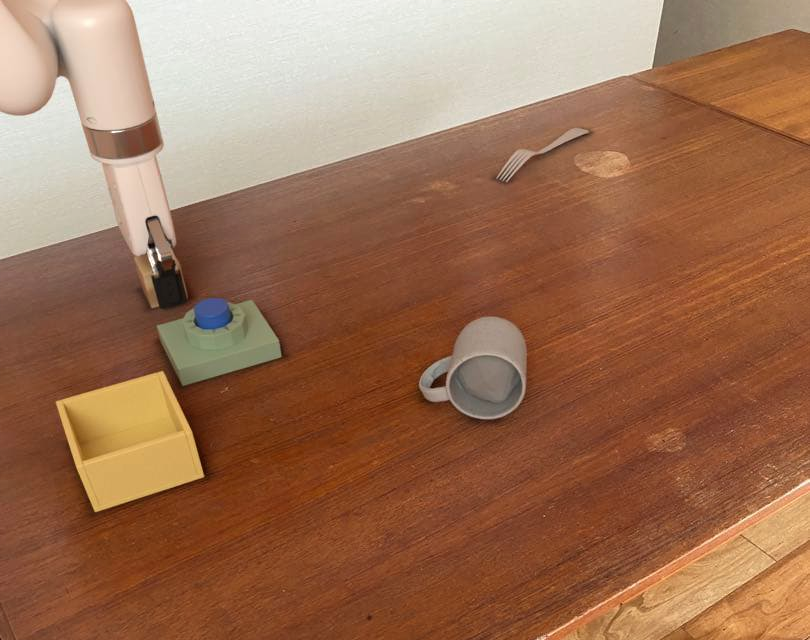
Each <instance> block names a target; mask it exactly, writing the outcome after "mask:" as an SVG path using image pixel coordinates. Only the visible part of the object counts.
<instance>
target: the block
mask: <svg viewBox="0 0 810 640" xmlns="http://www.w3.org/2000/svg"><path fill="white" fill-rule="evenodd" d="M174 256H175V259H176V262H177V265H178V268H179V270H180V272H181V276H182V280H183V284H184V289H185V293H186V297H187V300H188V299H189V295H188V291H187V286H186V283H185V278H184V274H183V270H182V265H181V264H180V261H179V260H178V257H176V255H175V254H174ZM153 257H154V260H155V263H156V264H157V261H159V258H158V254H155V255H153ZM133 260H134V265H135V267H136V272H137V275H138V278H139V282H140V285H141V288H142V292H143V294H144V296H145V297H146V300H147V301H148V304H149V306H150V308H151V309H154V308H157V307H158V308H159V307H160V306H159V304H158V300H157V297H156V293H155V289H154V286H153V282H152V278H151V276H153V272H152V269H151V266H150V263H149V261H148V258H147V255H146V254H143V255H141V257H137V256H135V255H134V256H133Z"/></svg>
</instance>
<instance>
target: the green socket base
mask: <svg viewBox="0 0 810 640" xmlns="http://www.w3.org/2000/svg"><path fill="white" fill-rule="evenodd" d="M226 302H227V303H228V305H229V310H230V315H231V322H230V323H229V324H227V325H226V326H225V327H221V328H218V329H214V330H212V329H202V328H200V327H199V326H198V325H197V321H196V317H195V312H194V307H193V308H192V309H190V310H188V311H187V312H186V313H185V314H184V316H183V317H182V318H178V319H175V320H171V321H168V322H164V323H161V324H157V325H156V329H157V335H158V338H159V340H160V343H161V345H162V347H163V349H164V352H165V354H166V356H167V358H168V359H169V362H170V364H171V366H172V367H173V370H174V371H175V374H176V376H177V378H178V381H179V382H180V384H181V386H182V387H184V386H188V385H191V384H194V383H197V382H201V381H204V380H208V379H212V378H215V377H218V376H221V375H225V374H228V373H232V372H236V371H239V370H242V369H243V370H244V369H246V368H250V367H252V366H255V365H256V366H257V365H259V364H263V363H266V362H271V361H273V360H277V359H279V358H282V349H281V344H280V340H279V338H278V336H277V335H276V334H275V332H274V331H273V329H272V328H271V326H270V325H269V323H268V321H267V320H266V318H265V317H264V315H263V314H262V312H261V310H260V309H259V308H258V306H257V305H256V303H255V301H254V300H253V299H250V300H245V301H243V302H238V303H235V304H234V303H233V302H230V301H226Z"/></svg>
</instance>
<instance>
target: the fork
mask: <svg viewBox="0 0 810 640" xmlns="http://www.w3.org/2000/svg"><path fill="white" fill-rule="evenodd" d="M589 133H590V131H589V130H588V129H584V128H581V127H573V128H570V129H569V130H567V131H566V132H564V133H563V134H562V135H560V136H559V137H558V138H557V139H556V140H554V141H553V142H551V143H550V144H548V145H547V146H545V147H544V148H542V149H540V150H536V151H534V150H530V149H526V148H519V149H517V150H515V152H514V153H513V154H512V155H511V156H510V158H509V159H508V160H507V161H506V163H505V164H504V166H503V167H502V169H501V170H500V171H499V173H498V174H497V176H496V178H495V179H496V180H497V179H499V181H502V182H504V181H505V183H508V181H509V180H510V179H511V178H512V177H513V176H514V175H515V173H517V171H518V170H519V169H520V168H521V167H522V166H523V165H524V164H525V163H526V162H527V161H528V160H529V159H530V158H531V157H533V156H537V155H542V154H545V153H547V152H549V151H551V150H553V149H554V148H557V147H558V146H560V145H562V144H566V143H567V142H569V141H571V140H574V139H576V138H579V137H581V136H583V135H587V134H589ZM501 174H502V175H501ZM509 175H510V176H509ZM500 176H501V177H500Z"/></svg>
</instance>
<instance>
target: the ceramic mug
mask: <svg viewBox="0 0 810 640" xmlns="http://www.w3.org/2000/svg"><path fill="white" fill-rule="evenodd" d="M452 350H453V352H452V354H451V355H449V356H447V357H444V358H442V359H439V360H437V361H435V362H433V364H431V365H430V366H428V368H427V369H426V370H424V371H423V373H422V375H421V376H420V378H419V381H418V388H419V390H420V392H421V394H422V395H423V397H424V399H426V400H427V401H428V402H432V403H441V402H448V401H450V402H451V404H452V406H454V407H455V408H456V409H457V411H459V412H460V413H463V415H466V416H468V417H471V418H474V419H478V420H479V419H480V420H495V419H496V420H497V419H500V418H503V417H505V416H507V415H509V414H511V413H512V412H513V411H515V410H516V409H517V408H518V407H519V406H520V404H521V403H522V401H523V400H524V398H525V395H526V391H527V368H528V367H527V361H528V360H527V359H528V351H527V350H528V349H527V344H526V340H525V337H524V334H523V333H522V331H521V330H520V329H519V327H518V326H517V325H516V324H515V323H513V322H512V321H510V320H508V319H507V318H504V317H500V316H496V315H485V316H480V317H477V318H476V319H474V320H471V321H470V322H468V324H467V325H465V326H464V328H462V330H461V331H460V333H459V334H458V336H457V338H456V340H455V343H454V347H453V349H452ZM444 374H446V379H445V385H444V386H441V387H433V388H431V387H432V384H433V383H434V382H435V380H436V379H438V378H439V377H440V376H442V375H444Z"/></svg>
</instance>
